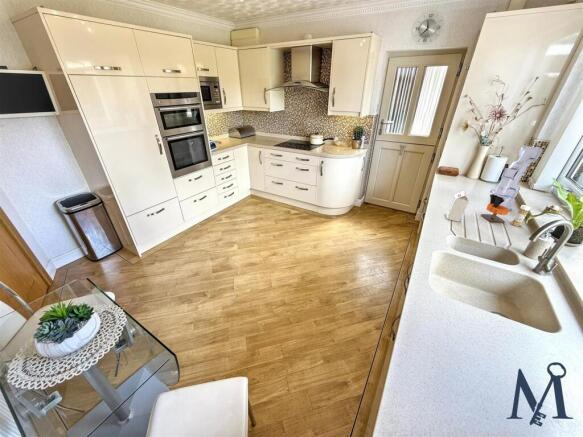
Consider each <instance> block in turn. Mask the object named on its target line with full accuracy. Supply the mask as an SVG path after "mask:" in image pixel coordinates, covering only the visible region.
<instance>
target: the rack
mask: <svg viewBox="0 0 583 437" xmlns="http://www.w3.org/2000/svg"><path fill="white" fill-rule="evenodd" d="M480 216H481V217H483V218H484V219H485V220H486V221H488V222H489V223H497V224H499V223H500V224H504V223H505V222H506V220H503V219H502V218H500V217H499V216H498V214H495V213H492V214H490V213H489V214H488V213H481V215H480Z"/></svg>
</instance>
